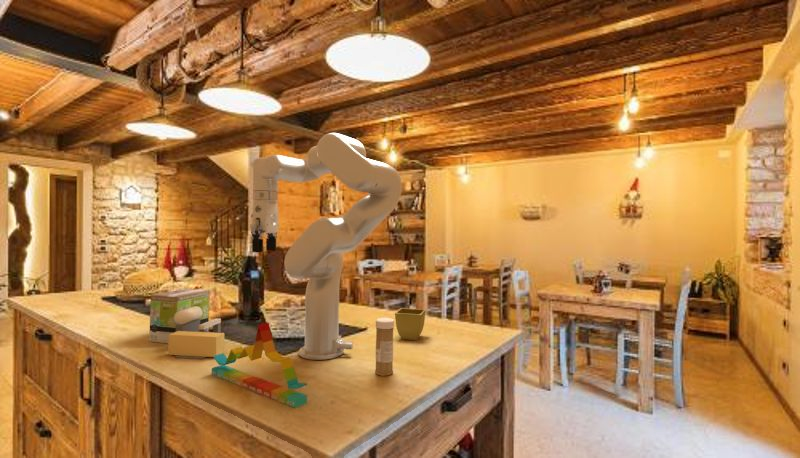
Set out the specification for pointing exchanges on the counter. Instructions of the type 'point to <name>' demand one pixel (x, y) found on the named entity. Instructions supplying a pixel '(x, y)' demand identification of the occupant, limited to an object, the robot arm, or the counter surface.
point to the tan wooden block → (196, 343)
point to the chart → (257, 383)
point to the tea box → (174, 311)
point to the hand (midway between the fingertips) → (264, 251)
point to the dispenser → (195, 321)
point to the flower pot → (410, 322)
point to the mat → (190, 357)
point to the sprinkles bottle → (384, 346)
